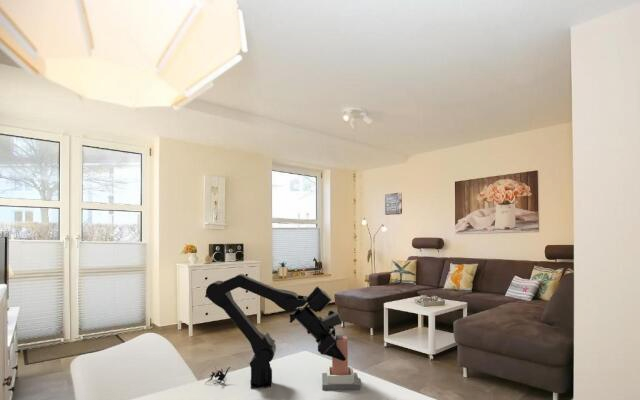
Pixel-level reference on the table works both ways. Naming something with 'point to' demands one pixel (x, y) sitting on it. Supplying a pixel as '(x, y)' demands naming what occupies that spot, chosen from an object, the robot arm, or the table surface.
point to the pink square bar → (339, 365)
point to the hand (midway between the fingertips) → (344, 355)
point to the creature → (218, 375)
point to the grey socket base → (340, 380)
